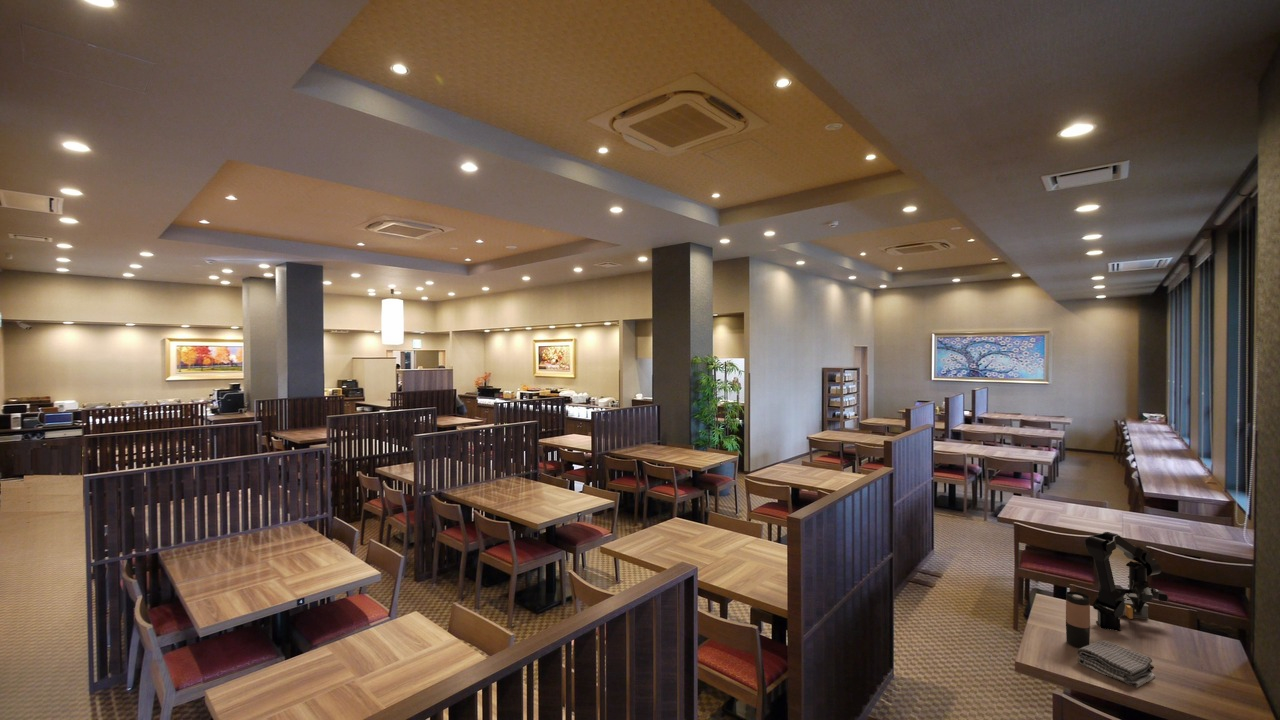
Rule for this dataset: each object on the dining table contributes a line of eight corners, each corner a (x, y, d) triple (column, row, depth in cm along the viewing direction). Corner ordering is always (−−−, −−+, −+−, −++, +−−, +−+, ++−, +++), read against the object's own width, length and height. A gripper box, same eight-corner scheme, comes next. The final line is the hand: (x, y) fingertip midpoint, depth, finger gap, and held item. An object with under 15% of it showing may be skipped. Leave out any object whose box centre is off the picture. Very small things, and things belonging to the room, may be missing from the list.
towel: (1097, 655, 212) (1097, 635, 212) (1158, 680, 195) (1158, 658, 195) (1075, 664, 206) (1075, 643, 206) (1136, 691, 189) (1136, 668, 189)
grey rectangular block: (1109, 615, 242) (1109, 605, 242) (1106, 611, 246) (1106, 601, 246) (1132, 618, 239) (1132, 608, 239) (1128, 615, 243) (1128, 604, 243)
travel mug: (1081, 640, 222) (1081, 591, 222) (1095, 650, 215) (1095, 599, 215) (1061, 639, 223) (1061, 590, 223) (1074, 649, 216) (1074, 599, 215)
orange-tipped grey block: (1105, 613, 246) (1105, 598, 246) (1097, 604, 255) (1097, 590, 255) (1148, 619, 240) (1148, 604, 240) (1138, 610, 249) (1138, 595, 249)
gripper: (1118, 580, 235) (1119, 616, 235) (1175, 587, 228) (1175, 624, 228) (1108, 571, 245) (1108, 605, 245) (1161, 577, 238) (1162, 612, 238)
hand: (1138, 612), depth 239 cm, fingers closed
